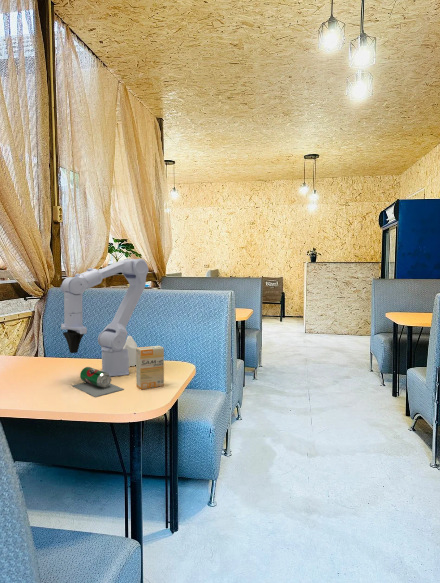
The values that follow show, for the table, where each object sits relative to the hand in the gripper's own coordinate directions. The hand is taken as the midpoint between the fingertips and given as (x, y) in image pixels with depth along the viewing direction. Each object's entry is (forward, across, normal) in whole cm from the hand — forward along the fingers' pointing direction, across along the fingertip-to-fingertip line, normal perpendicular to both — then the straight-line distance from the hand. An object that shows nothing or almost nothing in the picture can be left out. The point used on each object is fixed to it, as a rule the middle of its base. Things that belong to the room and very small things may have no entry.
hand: (73, 352), depth 135 cm
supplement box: (+10, +22, +16) cm, 29 cm away
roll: (+10, -6, +26) cm, 29 cm away
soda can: (+8, +2, +3) cm, 8 cm away
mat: (+10, +11, +3) cm, 15 cm away
